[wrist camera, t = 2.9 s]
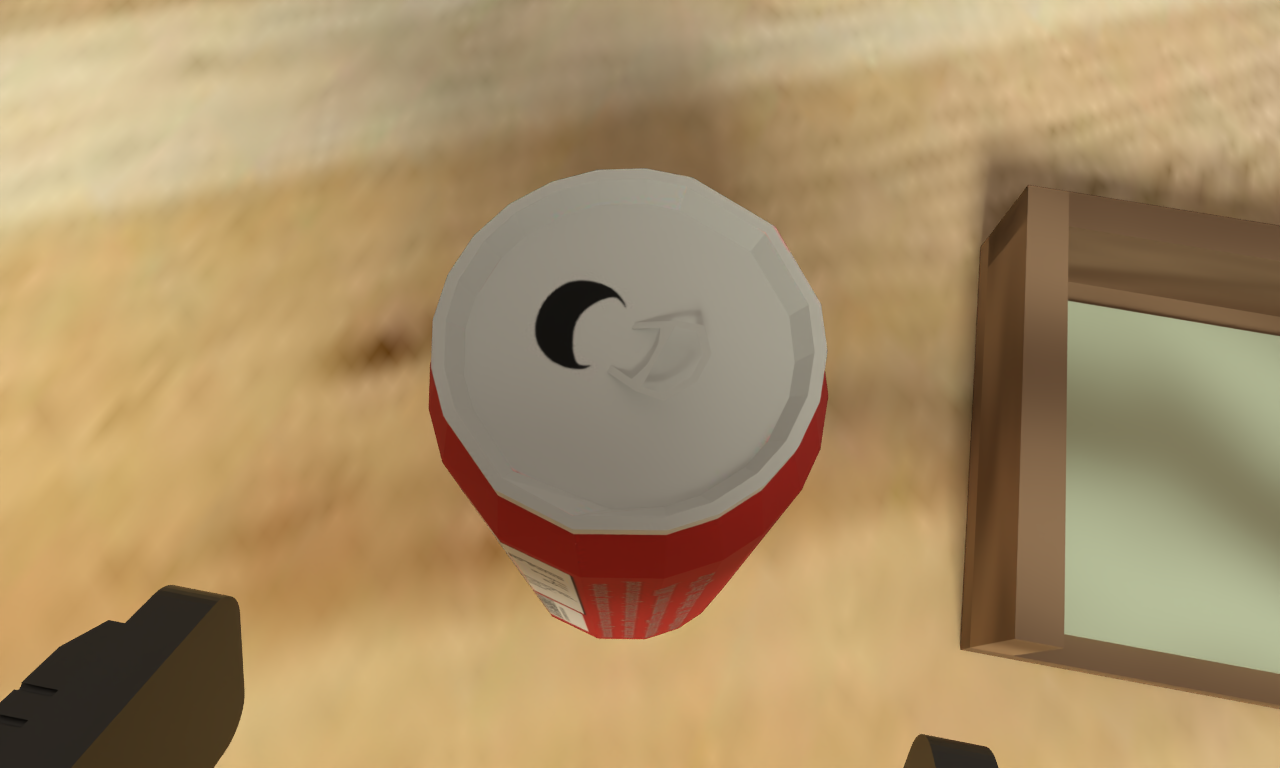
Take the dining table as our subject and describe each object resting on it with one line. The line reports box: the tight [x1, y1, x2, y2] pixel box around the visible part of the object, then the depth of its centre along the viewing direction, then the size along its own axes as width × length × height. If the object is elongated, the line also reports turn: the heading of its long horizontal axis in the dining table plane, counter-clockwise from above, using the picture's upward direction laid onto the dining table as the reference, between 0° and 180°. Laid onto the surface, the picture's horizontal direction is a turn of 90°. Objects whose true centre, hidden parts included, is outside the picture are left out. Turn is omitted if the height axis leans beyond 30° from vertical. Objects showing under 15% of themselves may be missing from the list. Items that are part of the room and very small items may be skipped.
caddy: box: [961, 185, 1280, 709], centre depth 21 cm, size 11×11×3 cm
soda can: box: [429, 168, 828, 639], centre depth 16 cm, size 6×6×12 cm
